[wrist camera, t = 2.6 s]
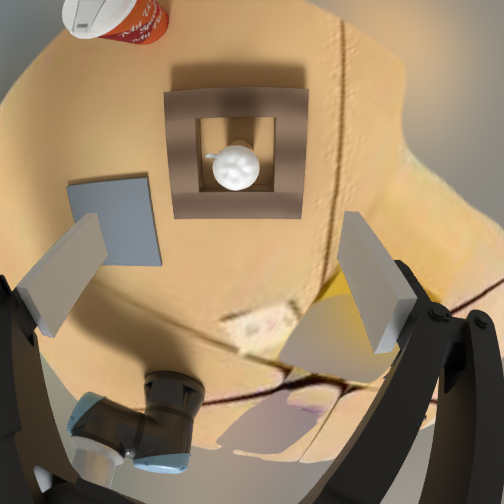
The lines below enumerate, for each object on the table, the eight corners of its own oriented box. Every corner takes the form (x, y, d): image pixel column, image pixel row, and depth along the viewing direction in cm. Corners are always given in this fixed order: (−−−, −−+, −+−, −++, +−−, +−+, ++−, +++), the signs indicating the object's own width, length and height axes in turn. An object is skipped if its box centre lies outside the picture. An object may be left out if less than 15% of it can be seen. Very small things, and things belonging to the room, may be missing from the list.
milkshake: (229, 124, 31) (219, 134, 23) (265, 147, 33) (269, 167, 24) (209, 153, 33) (193, 175, 25) (244, 176, 35) (241, 205, 26)
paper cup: (166, 55, 26) (114, 37, 14) (113, 49, 25) (47, 39, 13) (186, 2, 22) (148, -41, 10) (132, -1, 21) (76, -33, 9)
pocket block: (297, 209, 37) (301, 219, 35) (179, 209, 37) (174, 219, 35) (303, 89, 29) (308, 89, 26) (171, 92, 29) (163, 92, 26)
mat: (162, 264, 42) (161, 266, 42) (89, 262, 42) (87, 264, 42) (148, 176, 35) (146, 178, 34) (68, 185, 35) (66, 186, 34)
